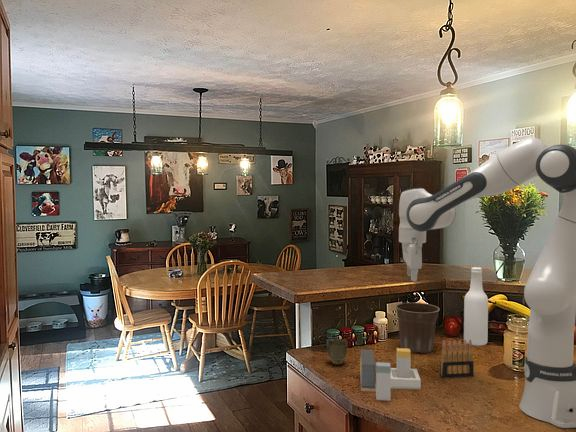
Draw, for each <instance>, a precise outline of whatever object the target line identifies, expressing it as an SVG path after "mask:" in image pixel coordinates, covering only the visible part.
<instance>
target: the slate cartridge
mask: <svg viewBox="0 0 576 432" xmlns="http://www.w3.org/2000/svg"><path fill="white" fill-rule="evenodd" d="M391 368H392V366H391V363H390V362H380V361H379V362H377V361H375V382H376V392H375V398H376V399H375V400H376V401H388V402H389V401H391V392H392V391H391Z"/></svg>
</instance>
